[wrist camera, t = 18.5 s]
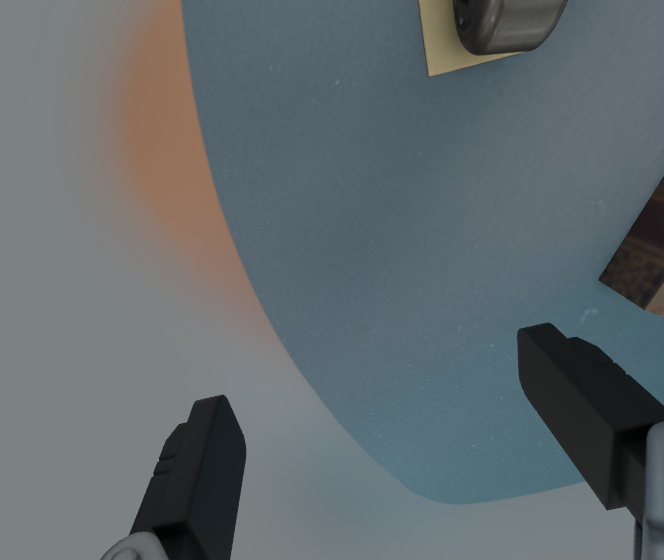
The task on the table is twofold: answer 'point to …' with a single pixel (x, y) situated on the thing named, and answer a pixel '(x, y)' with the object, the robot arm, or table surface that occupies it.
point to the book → (641, 259)
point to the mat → (446, 39)
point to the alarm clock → (505, 24)
